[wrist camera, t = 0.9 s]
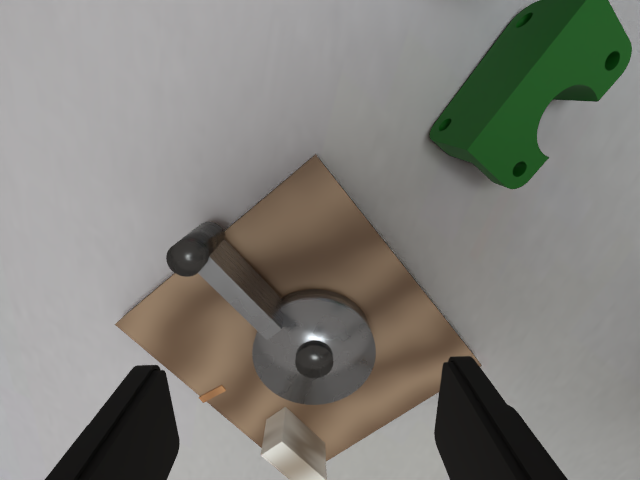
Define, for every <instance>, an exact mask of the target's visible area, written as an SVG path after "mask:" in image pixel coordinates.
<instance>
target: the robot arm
mask: <svg viewBox="0 0 640 480" xmlns="http://www.w3.org/2000/svg"><path fill="white" fill-rule="evenodd" d="M434 434H435V441H436V445H437V448H438V450H439V453H440V455H441V458H442V460H443V463H444V465H445V468H446V470H447V473H448V475H449V478H450V480H568V479H567V478H566V477H565V475H564V474H563V473H562V471H561V470H560V469H559V467H558V466H557V465H556V463H555V462H554V461H553V459H552V458H551V457H550V455H549V454H548V453H547V451H546V450H545V449H544V447H543V446H542V445H541V443H540V442H539V441H538V439H537V438H536V437H535V435H534V434H533V433H532V431H531V430H530V428H529V427H528V426H527V424H526V423H525V422H524V420H523V419H522V418H521V416H520V415H519V414H518V413H517V411H516V410H515V409H514V408H513V407H511V406H509V405H507V404H506V402H505V401H504V400H503V398H502V397H501V396H500V394H499V393H498V391H497V390H496V389H495V387H494V386H493V385H492V383H491V382H490V380H489V379H488V378H487V376H486V375H485V374H484V372H483V371H482V369H481V368H480V367H479V365H478V364H477V363H476V361H475V360H474V359H473V358H472V357H471V356H455V357H450V358H449V360H448V362H444V363H443V367H442V375H441V383H440V391H439V399H438V407H437V415H436V423H435V432H434ZM178 450H179V436H178V431H177V426H176V421H175V416H174V411H173V406H172V401H171V396H170V391H169V387H168V382H167V377H166V373H165V371H164V370H160V367H159V366H158V365H142V366H135V367H134V368H133V369H132V370H131V371H130V372H129V374H128V375H127V376H126V377H125V379H124V380H123V381H122V383H121V384H120V385H119V386H118V388H117V389H116V390H115V392H114V393H113V394H112V395H111V397H110V398H109V399H108V400H107V402H106V403H105V404H104V406H103V407H102V408H101V409H100V411H99V412H98V413H97V415H96V416H95V417H94V418H93V420H92V421H91V422H90V423H89V425H88V426H87V427H86V428H85V429H84V430H83V432H82V433H81V434H80V436H79V437H78V438H77V439H76V441H75V442H74V443H73V444H72V446H71V447H70V448H69V450H68V451H67V452H66V453H65V455H64V456H63V457H62V458H61V460H60V461H59V462H58V464H57V465H56V466H55V467H54V469H53V470H52V471H51V473H50V474H49V475H48V476H47V478H46V479H45V480H167V478H168V475H169V473H170V470H171V468H172V466H173V463H174V461H175V459H176V456H177V454H178Z"/></svg>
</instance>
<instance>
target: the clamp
mask: <svg viewBox="0 0 640 480" xmlns="http://www.w3.org/2000/svg"><path fill="white" fill-rule="evenodd" d="M631 52H632V46H631V42H630V40H629V38H628V36H627V35H626V33H625V31H624V29H623V27H622V25H621V23H620V22H619V20H618V18H617V16H616V14H615V12H614V10H613V9H612V7H611V5H610V3H609V1H608V0H540V1H537V2H535V3H533V4H531V5H529V6H528V7H526V8H525V9H523V10H522V11H521V12H520V13H519V14H518V15H516V16H515V17H514V19H513V20H512V21H511V22H510V23H509V25H508V26H507V27H506V29H505V30H504V31H503V33H502V34H501V35H500V37H499V38H498V39H497V41H496V42H495V43H494V45H493V46H492V47H491V49H490V50H489V51H488V53H487V54H486V55H485V57H484V58H483V59H482V61H481V62H480V63H479V65H478V66H477V67H476V69H475V70H474V71H473V73H472V74H471V75H470V77H469V78H468V79H467V81H466V82H465V83H464V85H463V86H462V87H461V89H460V90H459V91H458V93H457V94H456V95H455V97H454V98H453V99H452V101H451V102H450V103H449V105H448V106H447V108H446V109H445V110H444V112H443V113H442V114H441V116H440V117H439V118H438V120H437V121H436V122H435V124H434V125H433V127H432V129H431V131H430V139H431V140H432V141H433V142H435V143H436V144H437V145H438V146H439V147H440V148H441V149H442V150H443V151H445V152H446V153H447V154H448V155H450V156H453V157H456V158H459V159H462V160H465V161H468V162H471V163H473V164H474V165H475V166H476V167H477V168H478V169H479V170H480V171H481V172H482V173H483V174H485V175H486V176H487V177H488V178H489V179H490V180H491V181H492V182H494V183H496V184H499V185H501V186H504V187H507V188H509V189H516V188H519V187H521V186H523V185H525V184H526V183H527V182H528V181H529V180H530V179H531V178H532V176H533V175H534V174H535V173H536V172H537V171H538V170H539V168H540V167H541V166H542V165H543V164H544V163H545V162H546V160H547V159H548V158H549V157H547V156H545V155H544V154H543V153H542V152H541V151H540V149H539V147H538V143H537V129H538V125H539V121H540V119H541V116H542V114H543V112H544V111H545V109H546V107H547V106H548V104H549V103H550V102H551V101H552V100H553V99H555V100H577V101H599V100H600V99H601V97H602V96H603V95H604V94H605V93H606V92H607V91H608V89H609V88H610V87H611V86H612V85H613V84H614V83H615V81H616V80H617V79H618V78H619V77H620V76H621V75H622V73H623V72H624V71H625V69H626V67H627V65H628V63H629V61H630V57H631Z"/></svg>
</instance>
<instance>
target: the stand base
mask: <svg viewBox="0 0 640 480" xmlns="http://www.w3.org/2000/svg"><path fill="white" fill-rule="evenodd" d="M224 235H225V240H226V241H227V242H228V243H229V244H230V245H231V246H232V247H233V248H234V249H235V250H236V251H237V252H238V253H239V254H240V255H241V256H242V257H243V258H244V259H245V260H246V262H247V263H248V264H249V265H250V266H251V267H252V268H253V269H254V270H255V271H256V272H257V273H258V274H259V275H260V276H261V277H262V278H263V279H264V280H265V281H266V282H267V283H268V284H269V285H270V287H271V288H272V289H273V290H274V291H275V292H276V293H277V294H278V295H279V296H280V297H281V298H282V297H284V296H286V295H288V294H291V293H294V292H297V291H301V290H308V289H321V290H328V291H332V292H336V293H338V294H340V295H343V296H345V297H346V298H348V299H350V300H351V301H352V302H354V303H355V304H356V305H357V306H358V307H359V308H360V309H361V310H362V312H363V313H364V314H365V316H366V318H367V320H368V322H369V325H370V328H371V331H372V335H373V338H374V342H375V347H376V357H375V363H374V367H373V369H372V371H371V374H370V375H369V377H368V379H367V380H366V381H365V382H364V384H363V385H362V386H361V387H360V388H359V389H358V390H356V391H355V392H354V393H352V394H351V395H349V396H347V397H345V398H343V399H341V400H338V401H335V402H332V403H327V404H321V405H306V404H299V403H295V402H291V401H289V400H286V399H284V398H282V397H280V396H278V395H276V394H275V393H273V392H272V391H271V390H270V389H268V388H267V387H266V385H265V384H264V383H263V382H262V381H261V379H260V378H259V376H258V374H257V372H256V370H255V367H254V364H253V359H252V350H253V343H254V340H255V336H256V333H257V330H256V329H255V328H254V327H253V326H252V325H251V324H250V323H249V322H248V321H247V320H246V319H245V318H244V317H243V316H242V315H241V314H239V313H238V312H237V311H236V310H235V309H234V308H233V307H232V306H231V305H230V304H229V303H228V302H227V301H226V300H225V299H224V298H223V297H222V296H221V295H220V294H219V293H218V292H217V291H216V290H215V289H214V288H213V287H212V286H211V285H210V284H209V283H208V282H207V281H206V280H205V279H204V278H203V277H202V276H200V275H199V274H198V273H197V274H196V275H194V276H190V277H184V276H180V275H178V274H176V273H174V274H173V275H172V276H171V277H170V278H168V279H167V280H166V281H165V282H164V283H162V284H161V285H160V286H159V287H158V288H156V289H155V290H154V291H153V292H152V293H151V294H149V295H148V296H147V297H146V298H145V299H143V300H142V301H141V302H140V303H139V304H138V305H136V306H135V307H134V308H133V309H132V310H130V311H129V312H128V313H127V314H126V315H125V316H123V317H122V318H121V319H120V320H119V321H118V322H117V323H116V324H115V325H116V326H117V327H118V328H120V329H121V330H122V331H123V332H124V333H126V334H127V335H128V336H129V337H130V338H131V339H133V340H134V341H135V342H136V343H137V344H139V345H140V346H141V347H142V348H143V349H145V350H146V351H147V352H148V353H149V354H151V355H152V356H153V357H154V358H155V359H156V360H158V361H159V362H160V363H161V364H162V365H164V366H165V367H166V368H167V369H168V370H170V371H171V372H172V373H173V374H174V375H176V376H177V377H178V378H179V379H180V380H181V381H183V382H184V383H185V384H186V385H187V386H189V387H190V388H191V389H192V390H193V391H195V392H196V393H197V394H198V395H199V396H200V397H199V399H200V400H201V401H202V402H203V403H204V402H208V403H209V404H210V405H211V406H212V407H214V408H215V409H216V410H217V411H218V412H220V413H221V414H222V415H223V416H224V417H225V418H227V419H228V420H229V421H230V422H231V423H233V424H234V425H235V426H236V427H237V428H239V429H240V430H241V431H242V432H243V433H244V434H246V435H247V436H248V437H249V438H250V439H252V440H253V441H254V442H255V443H256V444H258V445H259V446H260V447H261V448H262V450H261V456H262V457H263V458H264V459H266V460H267V461H268V462H269V463H270V464H272V465H273V466H274V467H275V468H276V469H278V470H279V471H280V472H281V473H282V474H284V475H285V476H286V477H287V478H288V479H290V480H327V477H326V461H328V460H329V459H331V458H332V457H334V456H336V455H337V454H339V453H341V452H342V451H344V450H345V449H347V448H349V447H350V446H352V445H354V444H355V443H357V442H358V441H360V440H362V439H363V438H365V437H367V436H368V435H370V434H371V433H373V432H375V431H376V430H378V429H379V428H381V427H383V426H384V425H386V424H388V423H389V422H391V421H392V420H394V419H396V418H397V417H399V416H401V415H402V414H404V413H405V412H407V411H409V410H410V409H412V408H414V407H415V406H417V405H418V404H420V403H422V402H423V401H425V400H427V399H428V398H430V397H431V396H433V395H435V394H436V393H438V392H439V391H440V383H441V375H442V367H443V363H444V362H448V360H449V358H450V357H455V356H471V357H472V358H473V359H474V360H475V361H476V363H477V364H478V365H479V367H480V366H482V365H481V364H480V363H479V361H478V360H477V359H476V357H475V356H474V355H473V353H472V352H471V351H470V349H469V348H468V347H467V346H466V344H465V343H464V342H463V341H462V339H461V338H460V337H459V335H458V334H457V333H456V332H455V330H454V329H453V328H452V327H451V325H450V324H449V323H448V322H447V320H446V319H445V318H444V316H443V315H442V314H441V313H440V311H439V310H438V309H437V308H436V306H435V305H434V304H433V302H432V301H431V300H430V299H429V297H428V296H427V295H426V294H425V292H424V291H423V290H422V289H421V287H420V286H419V285H418V283H417V282H416V281H415V280H414V278H413V277H412V276H411V275H410V273H409V272H408V271H407V270H406V268H405V267H404V266H403V264H402V263H401V262H400V261H399V259H398V258H397V257H396V256H395V254H394V253H393V252H392V250H391V249H390V248H389V247H388V245H387V244H386V243H385V242H384V240H383V239H382V238H381V237H380V235H379V234H378V233H377V231H376V230H375V229H374V228H373V226H372V225H371V224H370V223H369V221H368V220H367V219H366V217H365V216H364V215H363V214H362V212H361V211H360V210H359V209H358V207H357V206H356V205H355V204H354V202H353V201H352V200H351V198H350V197H349V196H348V195H347V193H346V192H345V191H344V190H343V188H342V187H341V186H340V185H339V183H338V182H337V181H336V179H335V178H334V177H333V176H332V174H331V173H330V172H329V171H328V169H327V168H326V167H325V165H324V164H323V163H322V162H321V160H320V159H319V158H318V157H317V155H316V154H315V155H314V156H313V157H312V158H311V159H309V160H308V161H307V162H306V163H305V164H304V165H302V166H301V167H300V168H299V169H298V170H296V171H295V172H294V173H293V174H292V175H291V176H289V177H288V178H287V179H286V180H285V181H283V182H282V183H281V184H280V185H279V186H277V187H276V188H275V189H274V190H273V191H272V192H270V193H269V194H268V195H267V196H266V197H264V198H263V199H262V200H261V201H260V202H258V203H257V204H256V205H255V206H254V207H253V208H251V209H250V210H249V211H248V212H247V213H245V214H244V215H243V216H242V217H241V218H240V219H238V220H237V221H236V222H235V223H234V224H232V225H231V226H230V227H229V228H228V229H226V230H225V231H224Z"/></svg>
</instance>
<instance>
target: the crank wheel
mask: <svg viewBox="0 0 640 480" xmlns="http://www.w3.org/2000/svg"><path fill="white" fill-rule="evenodd" d="M166 259H167V264H168V266H169V267H170V269H171V270H172V271H173V272H174V273H176V274H178V275H180V276H184V277H190V276H194V275H196V274H197V273H198V274H199V275H200V276H202V277H203V278H204V279H205V280H206V281H207V282H208V283H209V284H210V285H211V286H212V287H213V288H214V289H215V290H216V291H217V292H218V293H219V294H220V295H221V296H222V297H223V298H224V299H225V300H226V301H227V302H228V303H229V304H230V305H231V306H232V307H233V308H234V309H235V310H236V311H237V312H238V313H239V314H241V315H242V316H243V317H244V318H245V319H246V320H247V321H248V322H249V323H250V324H251V325H252V326H253V327H254V328H255V329H256V330H257V333H256V336H255V340H254V343H253V350H252V359H253V364H254V367H255V370H256V372H257V374H258V376H259V378H260V379H261V381H262V382H263V383H264V384H265V385H266V387H267V388H268V389H270V390H271V391H272V392H273V393H275V394H276V395H278V396H280V397H282V398H284V399H286V400H289V401H291V402H295V403H299V404H306V405H321V404H327V403H332V402H335V401H338V400H341V399H343V398H345V397H347V396H349V395H351V394H352V393H354V392H355V391H356V390H358V389H359V388H360V387H361V386H362V385H363V384H364V382H365V381H366V380H367V379H368V377H369V375H370V374H371V371H372V369H373V367H374V363H375V357H376V347H375V342H374V338H373V335H372V331H371V328H370V325H369V322H368V320H367V318H366V316H365V314H364V313H363V312H362V310H361V309H360V308H359V307H358V306H357V305H356V304H355V303H354V302H352V301H351V300H350V299H348V298H346V297H345V296H343V295H340V294H338V293H336V292H332V291H328V290H321V289H308V290H301V291H297V292H294V293H291V294H288V295H286V296H284V297H282V298H281V297H280V296H279V295H278V294H277V293H276V292H275V291H274V290H273V289H272V288H271V287H270V285H269V284H268V283H267V282H266V281H265V280H264V279H263V278H262V277H261V276H260V275H259V274H258V273H257V272H256V271H255V270H254V269H253V268H252V267H251V266H250V265H249V264H248V263H247V262H246V260H245V259H244V258H243V257H242V256H241V255H240V254H239V253H238V252H237V251H236V250H235V249H234V248H233V247H232V246H231V245H230V244H229V243H228V242H227V241H226V240H225V235H224V232H223V230H222V228H221V227H220V226H219V225H217V224H215V223H212V222H205V223H202V224H201V225H199V226H198V227H197V228H195V229H194V230H193V231H192V232H190V233H189V234H188V235H186V236H185V237H184V238H182V239H181V240H180V241H179V242H177V243H176V244H175V245H173V246H172V247H171V248H170V249H169V251H168V253H167V258H166Z"/></svg>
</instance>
